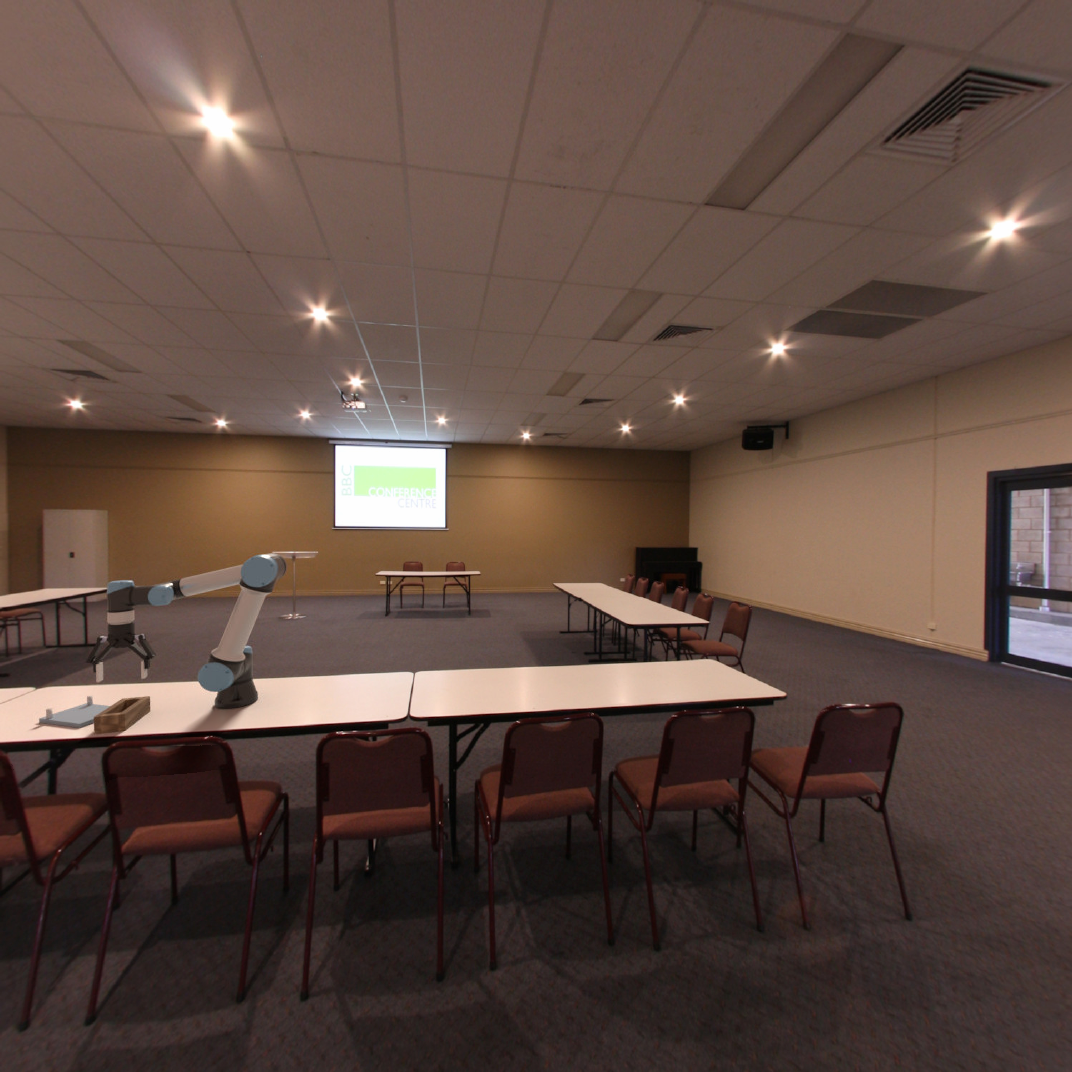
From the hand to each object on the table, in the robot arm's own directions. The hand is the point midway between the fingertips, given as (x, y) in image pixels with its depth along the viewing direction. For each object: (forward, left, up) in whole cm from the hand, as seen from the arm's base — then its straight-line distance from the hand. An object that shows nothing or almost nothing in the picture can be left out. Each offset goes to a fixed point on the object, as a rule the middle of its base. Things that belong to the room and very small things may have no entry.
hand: (122, 679), depth 173 cm
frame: (0, 0, -16) cm, 16 cm away
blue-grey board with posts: (+20, 0, -16) cm, 25 cm away
